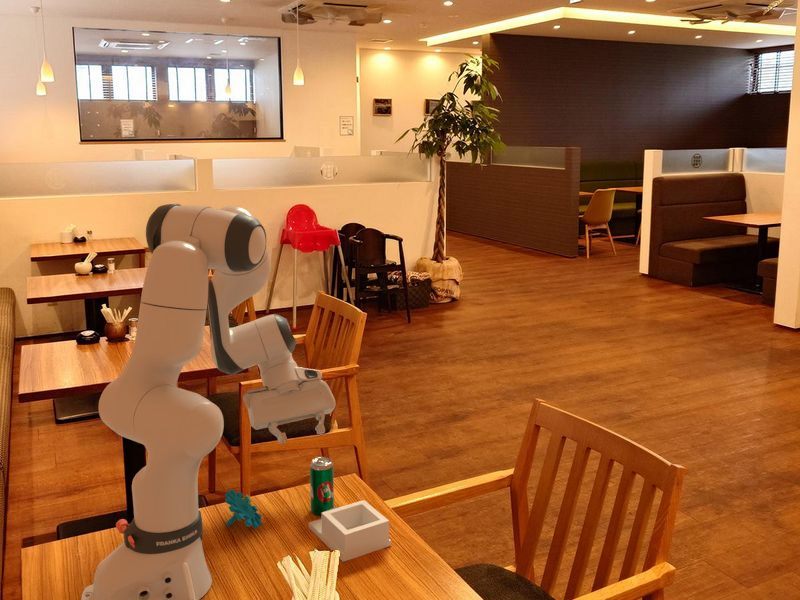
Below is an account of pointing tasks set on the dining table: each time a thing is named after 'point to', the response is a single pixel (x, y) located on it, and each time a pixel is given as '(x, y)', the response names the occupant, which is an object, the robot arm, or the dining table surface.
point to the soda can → (321, 485)
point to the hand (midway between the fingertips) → (302, 437)
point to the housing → (353, 530)
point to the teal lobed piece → (242, 509)
